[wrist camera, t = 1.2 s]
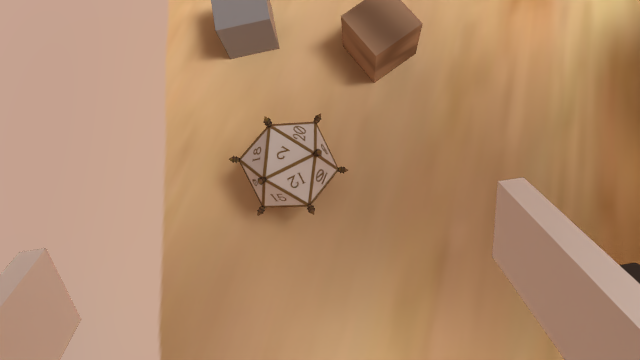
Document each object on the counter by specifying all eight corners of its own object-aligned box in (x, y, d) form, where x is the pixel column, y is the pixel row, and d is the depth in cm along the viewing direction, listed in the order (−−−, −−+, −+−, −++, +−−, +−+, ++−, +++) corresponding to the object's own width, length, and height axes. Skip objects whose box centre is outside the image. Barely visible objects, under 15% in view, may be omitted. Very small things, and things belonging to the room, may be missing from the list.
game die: (285, 174, 45) (242, 90, 39) (365, 169, 42) (331, 76, 35) (251, 244, 39) (193, 158, 33) (341, 245, 36) (294, 149, 30)
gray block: (271, 6, 46) (261, -28, 41) (279, 48, 45) (269, 18, 40) (224, 17, 46) (208, -16, 42) (230, 59, 45) (215, 30, 40)
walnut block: (383, 18, 45) (386, -15, 40) (415, 53, 43) (422, 23, 39) (343, 46, 44) (341, 16, 40) (374, 83, 43) (376, 56, 38)
